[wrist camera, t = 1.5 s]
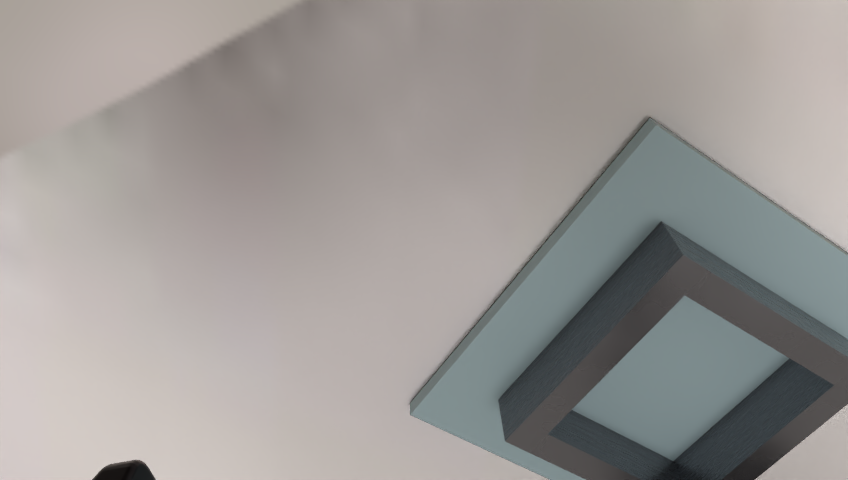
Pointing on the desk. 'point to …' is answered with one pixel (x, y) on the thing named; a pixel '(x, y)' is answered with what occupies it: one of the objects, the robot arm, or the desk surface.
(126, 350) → the desk surface
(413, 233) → the desk surface
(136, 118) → the desk surface
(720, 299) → the socket holder
